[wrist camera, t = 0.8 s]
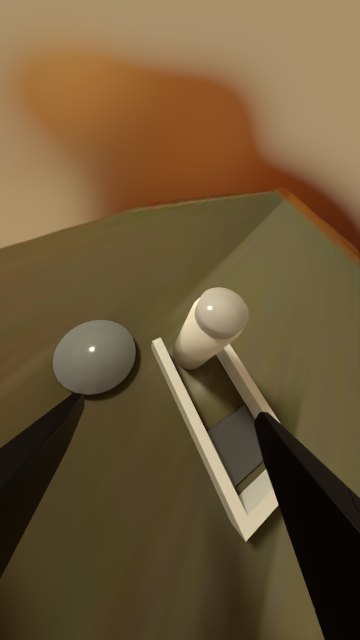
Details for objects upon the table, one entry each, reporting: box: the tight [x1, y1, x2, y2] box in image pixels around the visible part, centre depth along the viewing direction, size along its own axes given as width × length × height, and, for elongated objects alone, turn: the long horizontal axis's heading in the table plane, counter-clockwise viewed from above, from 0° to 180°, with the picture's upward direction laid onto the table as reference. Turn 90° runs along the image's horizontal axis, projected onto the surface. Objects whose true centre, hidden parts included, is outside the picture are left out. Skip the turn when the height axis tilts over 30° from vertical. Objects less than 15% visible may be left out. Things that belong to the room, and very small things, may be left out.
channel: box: [151, 338, 280, 541], centre depth 22 cm, size 21×10×3 cm, turn 28°
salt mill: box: [173, 288, 249, 370], centre depth 20 cm, size 5×5×13 cm
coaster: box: [53, 320, 136, 395], centre depth 23 cm, size 10×10×1 cm
